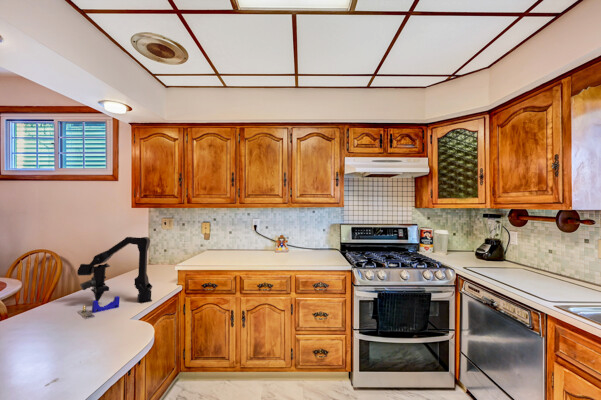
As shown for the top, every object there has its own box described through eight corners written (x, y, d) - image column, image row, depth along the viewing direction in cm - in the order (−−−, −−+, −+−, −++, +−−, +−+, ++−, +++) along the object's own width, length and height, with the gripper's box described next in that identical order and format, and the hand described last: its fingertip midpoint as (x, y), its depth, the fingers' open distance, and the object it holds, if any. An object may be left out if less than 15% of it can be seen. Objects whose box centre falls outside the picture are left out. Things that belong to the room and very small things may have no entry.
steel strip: (86, 310, 146) (87, 303, 146) (94, 316, 136) (95, 309, 136) (77, 311, 143) (77, 304, 143) (85, 319, 133) (85, 311, 133)
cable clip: (115, 306, 154) (116, 295, 154) (118, 307, 151) (119, 296, 152) (90, 311, 144) (91, 300, 144) (93, 313, 141) (94, 301, 142)
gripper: (78, 274, 158) (75, 301, 157) (86, 279, 146) (84, 308, 145) (100, 272, 167) (98, 297, 165) (110, 276, 155) (108, 303, 154)
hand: (97, 301), depth 157 cm, fingers closed
